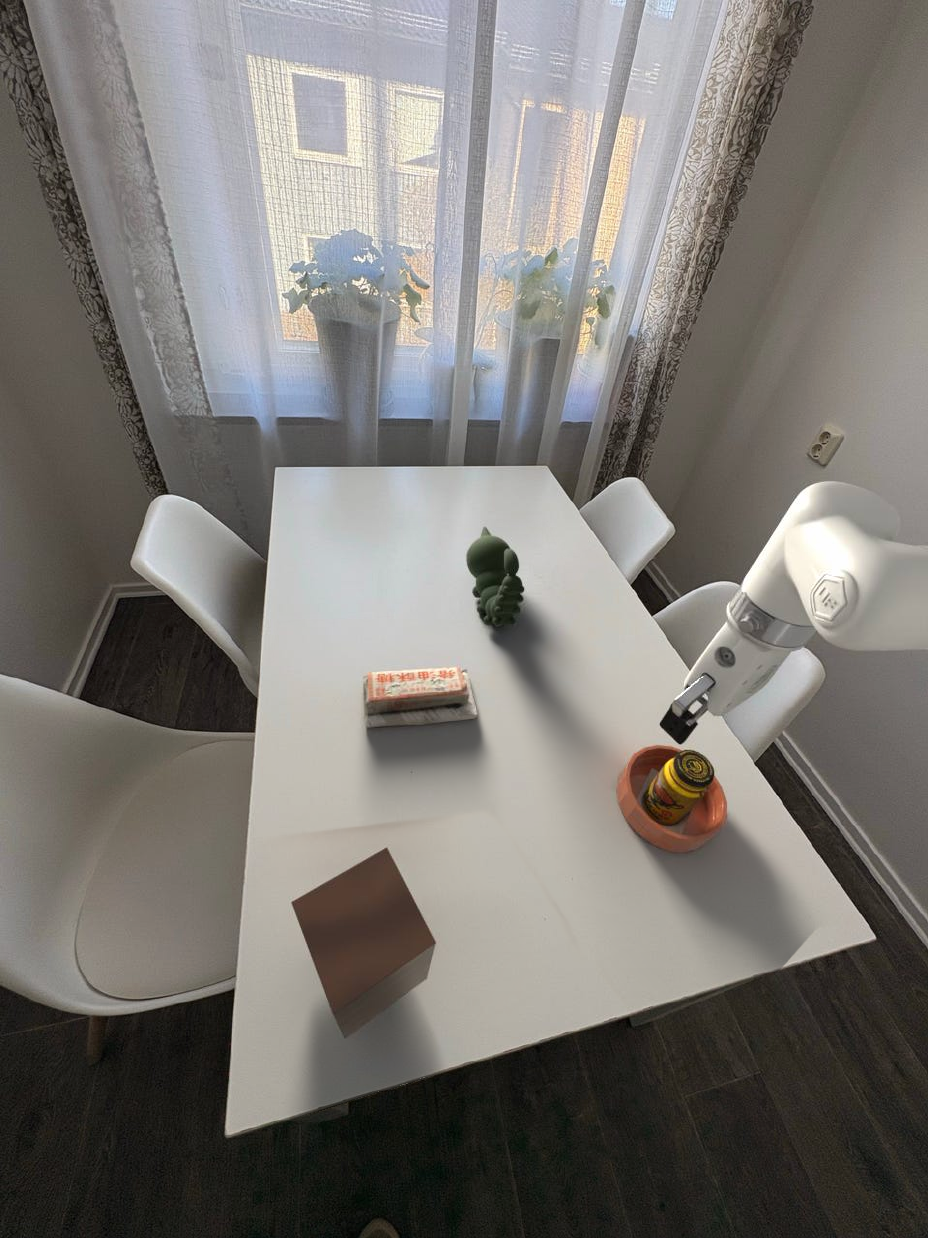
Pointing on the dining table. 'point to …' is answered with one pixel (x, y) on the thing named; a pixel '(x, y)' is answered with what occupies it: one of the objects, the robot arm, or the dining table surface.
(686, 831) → the dish
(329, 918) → the stand
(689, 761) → the condiment
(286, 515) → the dining table surface
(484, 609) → the toy figurine
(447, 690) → the packaged product
